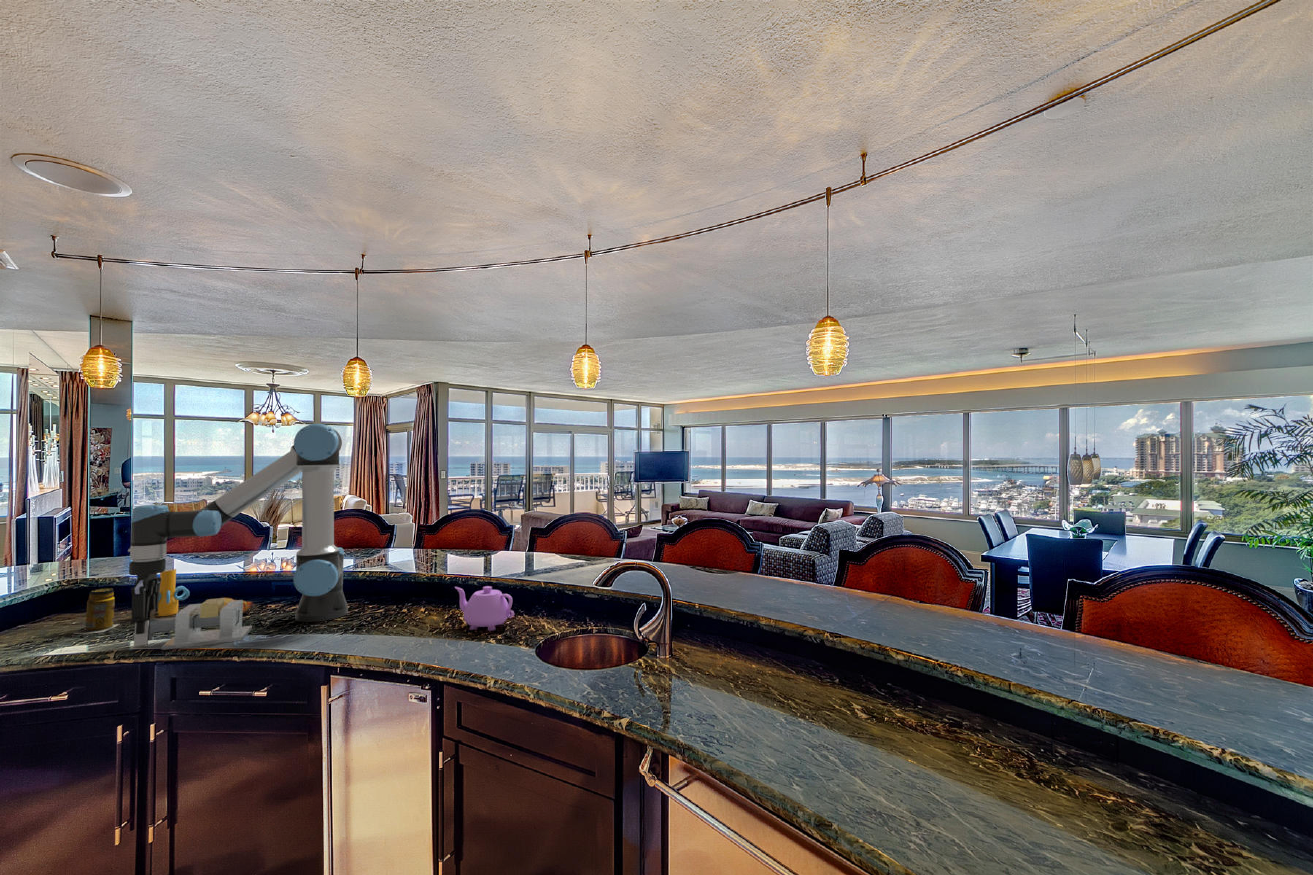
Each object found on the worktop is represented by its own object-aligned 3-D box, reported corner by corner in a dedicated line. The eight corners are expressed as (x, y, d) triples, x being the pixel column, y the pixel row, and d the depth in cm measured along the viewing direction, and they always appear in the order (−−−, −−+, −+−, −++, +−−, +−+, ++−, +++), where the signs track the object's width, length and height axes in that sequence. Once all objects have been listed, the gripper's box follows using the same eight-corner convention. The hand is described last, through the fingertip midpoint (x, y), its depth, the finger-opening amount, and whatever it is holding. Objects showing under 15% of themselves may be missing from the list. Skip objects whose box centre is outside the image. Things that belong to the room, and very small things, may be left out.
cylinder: (158, 620, 174) (160, 574, 175) (133, 618, 176) (136, 573, 177) (197, 610, 186) (199, 567, 187) (173, 608, 188) (175, 566, 189)
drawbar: (238, 627, 161) (239, 600, 161) (235, 630, 158) (236, 603, 158) (139, 638, 151) (140, 609, 151) (134, 641, 148) (135, 612, 148)
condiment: (120, 624, 170) (122, 586, 170) (103, 632, 162) (105, 592, 163) (90, 626, 167) (92, 588, 168) (72, 635, 159) (74, 594, 160)
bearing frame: (251, 628, 166) (253, 598, 166) (242, 640, 155) (243, 608, 156) (177, 636, 158) (179, 605, 158) (161, 649, 147) (163, 615, 148)
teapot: (443, 631, 164) (444, 591, 165) (464, 618, 178) (465, 580, 179) (505, 634, 162) (505, 593, 163) (521, 620, 176) (522, 582, 177)
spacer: (223, 611, 161) (224, 597, 161) (217, 616, 155) (218, 602, 155) (206, 612, 159) (207, 599, 159) (200, 618, 153) (200, 604, 154)
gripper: (142, 555, 157) (138, 635, 156) (117, 565, 142) (112, 654, 141) (175, 553, 160) (171, 632, 159) (153, 563, 146) (149, 649, 144)
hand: (143, 642), depth 150 cm, fingers closed on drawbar, 3 cm apart
